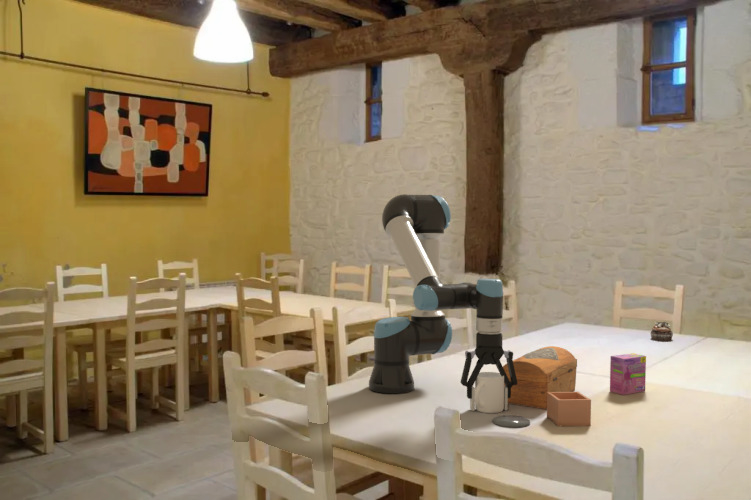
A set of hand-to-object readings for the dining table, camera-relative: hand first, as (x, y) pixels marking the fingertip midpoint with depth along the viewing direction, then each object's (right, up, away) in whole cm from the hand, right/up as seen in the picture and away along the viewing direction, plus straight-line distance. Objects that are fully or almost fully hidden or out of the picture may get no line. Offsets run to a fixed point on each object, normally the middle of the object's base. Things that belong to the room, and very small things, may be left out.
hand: (488, 409), depth 200 cm
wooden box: (+19, 0, +18) cm, 26 cm away
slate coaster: (+4, -1, -13) cm, 13 cm away
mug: (-1, 0, -1) cm, 2 cm away
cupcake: (+99, +3, +117) cm, 154 cm away
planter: (+20, -1, -11) cm, 23 cm away
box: (+49, 0, +24) cm, 54 cm away
